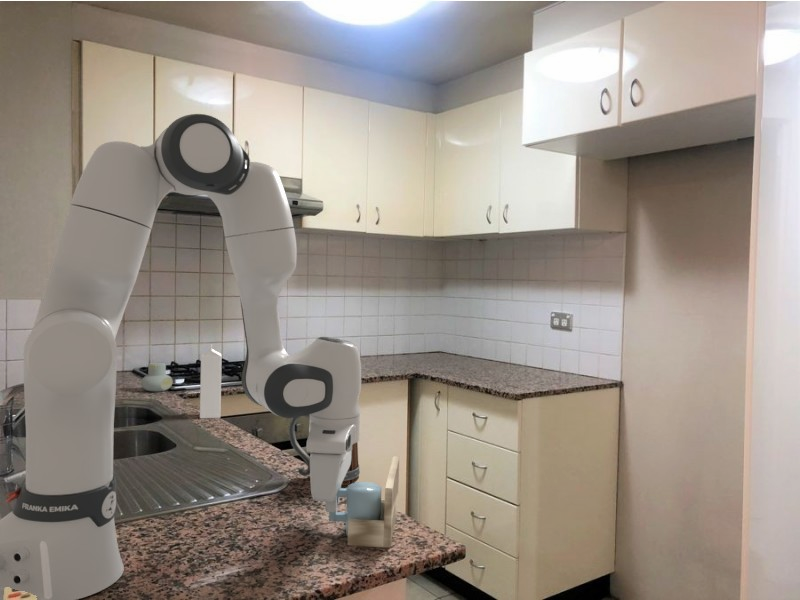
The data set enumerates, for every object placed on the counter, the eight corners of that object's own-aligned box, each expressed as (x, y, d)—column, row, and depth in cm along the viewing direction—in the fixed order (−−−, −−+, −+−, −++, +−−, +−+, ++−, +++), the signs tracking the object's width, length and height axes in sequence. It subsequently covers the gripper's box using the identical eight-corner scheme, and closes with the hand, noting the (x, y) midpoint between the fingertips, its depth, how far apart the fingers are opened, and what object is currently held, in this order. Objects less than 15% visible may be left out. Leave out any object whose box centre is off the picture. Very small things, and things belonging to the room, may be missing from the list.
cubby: (347, 545, 102) (349, 486, 102) (361, 504, 120) (362, 454, 120) (390, 547, 102) (392, 488, 101) (397, 506, 120) (399, 456, 119)
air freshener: (157, 394, 218) (157, 366, 217) (137, 392, 220) (137, 364, 219) (175, 388, 228) (175, 362, 228) (156, 387, 230) (156, 360, 230)
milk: (199, 418, 184) (200, 346, 183) (200, 414, 190) (201, 343, 189) (220, 418, 186) (221, 345, 185) (220, 413, 192) (221, 343, 191)
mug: (360, 472, 140) (362, 407, 139) (358, 488, 129) (360, 418, 129) (291, 470, 139) (293, 405, 139) (284, 486, 129) (286, 416, 128)
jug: (326, 538, 105) (327, 492, 104) (332, 523, 111) (333, 480, 110) (378, 541, 104) (379, 494, 104) (381, 526, 110) (383, 482, 110)
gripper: (327, 415, 117) (325, 486, 118) (304, 445, 97) (301, 530, 98) (360, 416, 117) (358, 488, 118) (343, 447, 97) (341, 533, 97)
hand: (332, 507), depth 107 cm, fingers closed on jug
